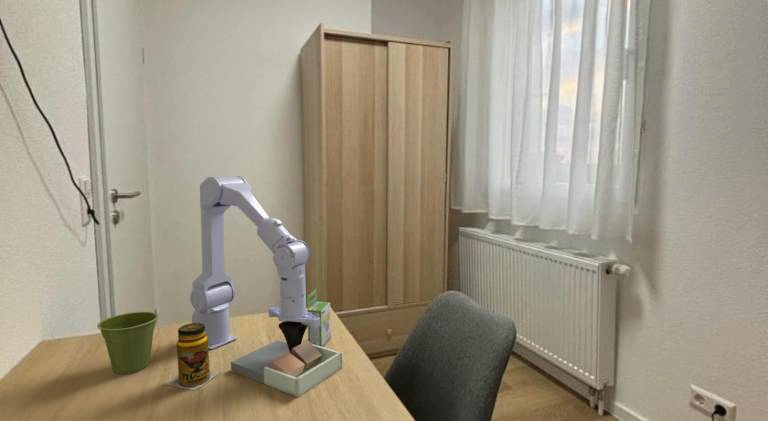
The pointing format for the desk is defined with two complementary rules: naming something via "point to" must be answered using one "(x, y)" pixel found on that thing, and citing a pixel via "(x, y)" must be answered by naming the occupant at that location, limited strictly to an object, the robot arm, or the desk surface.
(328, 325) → the ink box
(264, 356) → the slate board
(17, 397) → the desk surface
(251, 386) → the desk surface
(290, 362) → the terracotta tile
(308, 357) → the walnut tile
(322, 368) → the tray
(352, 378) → the desk surface
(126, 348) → the plant pot
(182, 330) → the condiment
